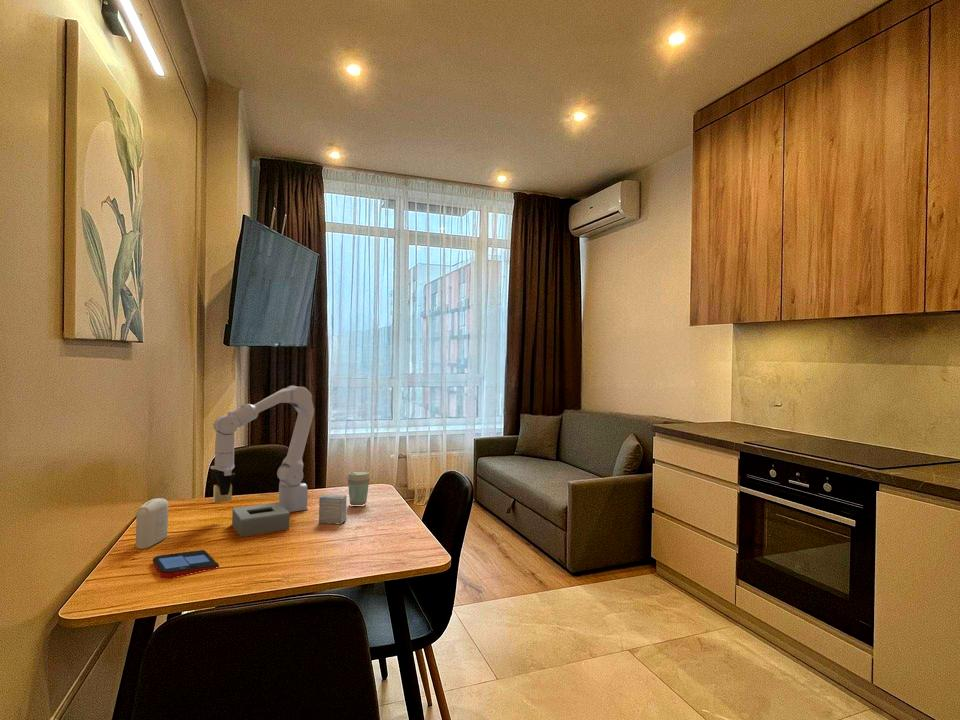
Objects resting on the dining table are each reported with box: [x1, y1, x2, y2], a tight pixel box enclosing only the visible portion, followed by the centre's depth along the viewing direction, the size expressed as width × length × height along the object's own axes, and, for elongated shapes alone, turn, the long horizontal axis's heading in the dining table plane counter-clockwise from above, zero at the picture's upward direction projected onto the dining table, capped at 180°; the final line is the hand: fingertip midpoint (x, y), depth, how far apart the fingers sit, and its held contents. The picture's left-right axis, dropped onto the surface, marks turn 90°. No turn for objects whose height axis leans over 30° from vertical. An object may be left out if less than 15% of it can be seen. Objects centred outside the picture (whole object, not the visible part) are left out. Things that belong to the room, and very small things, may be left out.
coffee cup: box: [346, 470, 371, 505], centre depth 189 cm, size 9×8×12 cm
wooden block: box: [212, 484, 233, 503], centre depth 167 cm, size 5×3×5 cm, turn 125°
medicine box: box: [318, 494, 347, 525], centre depth 168 cm, size 8×4×9 cm, turn 84°
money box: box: [231, 502, 291, 538], centre depth 162 cm, size 14×14×5 cm
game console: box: [152, 549, 220, 579], centre depth 130 cm, size 14×13×2 cm
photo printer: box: [134, 497, 169, 550], centre depth 145 cm, size 10×4×12 cm, turn 2°
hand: (223, 493), depth 167 cm, fingers closed on wooden block, 3 cm apart
